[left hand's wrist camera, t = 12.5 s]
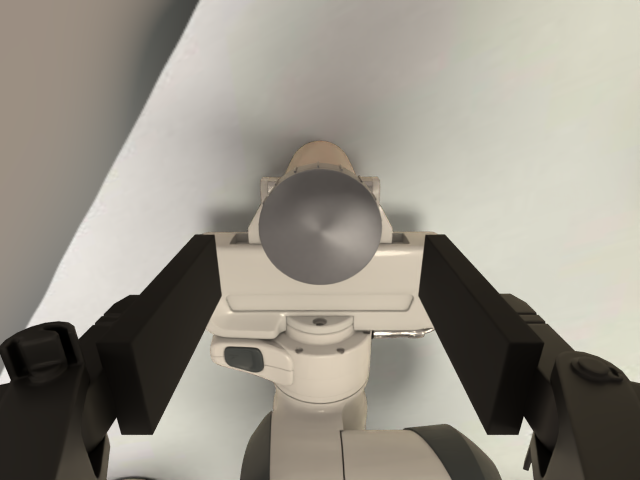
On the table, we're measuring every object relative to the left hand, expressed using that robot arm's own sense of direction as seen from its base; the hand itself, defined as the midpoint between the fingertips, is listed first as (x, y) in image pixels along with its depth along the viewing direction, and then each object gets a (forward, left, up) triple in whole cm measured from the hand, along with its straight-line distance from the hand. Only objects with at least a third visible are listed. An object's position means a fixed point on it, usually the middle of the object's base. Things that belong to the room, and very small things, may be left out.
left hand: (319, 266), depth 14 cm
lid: (0, 0, -4) cm, 4 cm away
